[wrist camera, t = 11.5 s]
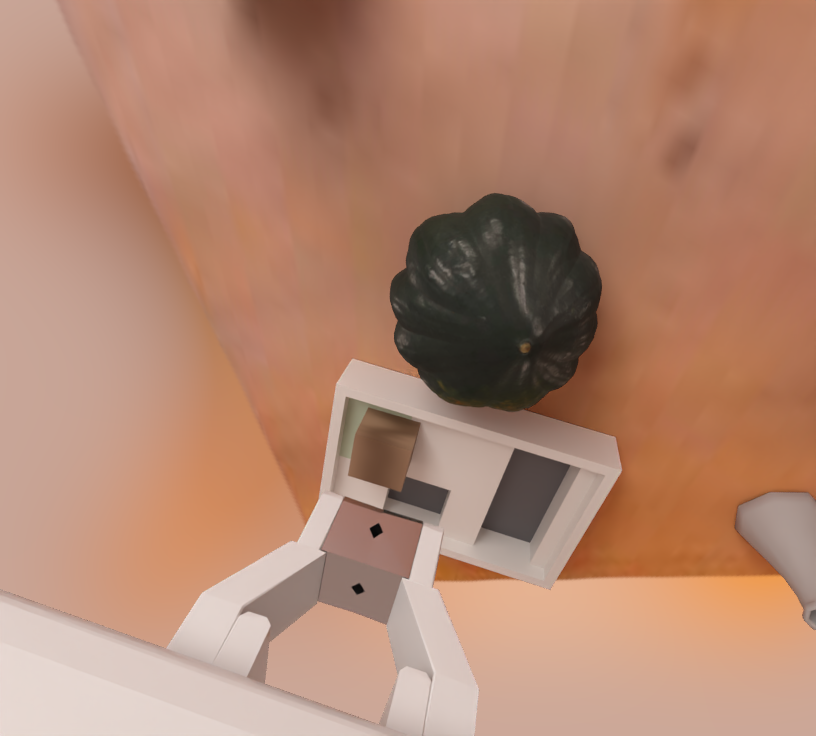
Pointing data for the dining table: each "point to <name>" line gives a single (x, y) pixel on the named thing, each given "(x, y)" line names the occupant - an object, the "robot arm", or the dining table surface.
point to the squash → (495, 304)
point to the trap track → (479, 474)
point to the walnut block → (383, 449)
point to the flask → (785, 540)
